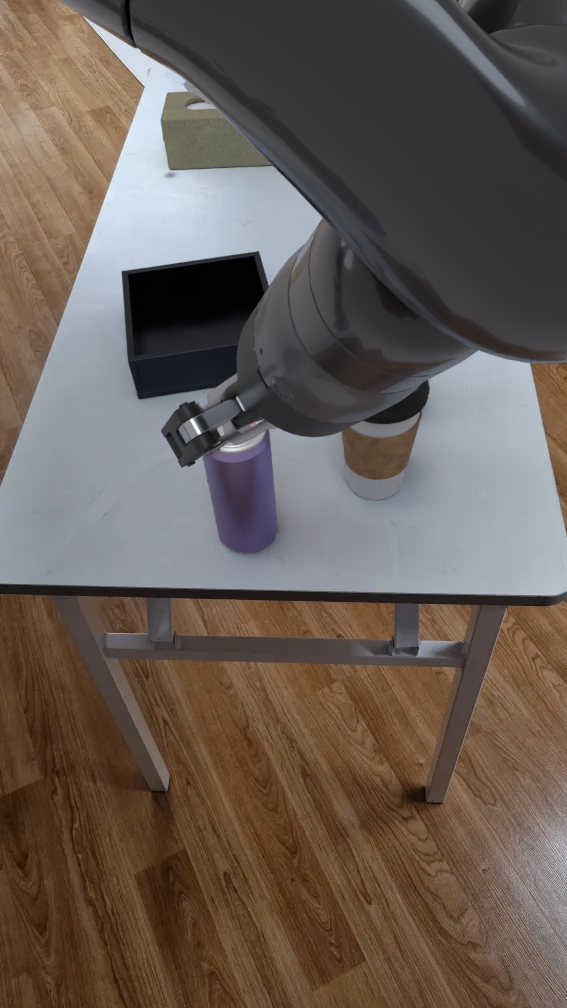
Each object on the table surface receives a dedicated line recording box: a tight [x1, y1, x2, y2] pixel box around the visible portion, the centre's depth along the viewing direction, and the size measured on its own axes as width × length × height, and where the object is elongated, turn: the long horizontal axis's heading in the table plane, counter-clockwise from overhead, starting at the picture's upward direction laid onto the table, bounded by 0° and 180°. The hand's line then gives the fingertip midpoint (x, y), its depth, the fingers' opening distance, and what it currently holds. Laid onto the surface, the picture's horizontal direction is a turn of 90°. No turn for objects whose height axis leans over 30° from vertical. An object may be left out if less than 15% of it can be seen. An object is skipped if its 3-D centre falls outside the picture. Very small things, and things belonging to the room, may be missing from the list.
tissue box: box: [160, 80, 272, 171], centre depth 114 cm, size 19×10×16 cm, turn 90°
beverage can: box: [202, 419, 279, 554], centre depth 66 cm, size 6×6×15 cm
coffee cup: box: [341, 379, 430, 501], centre depth 69 cm, size 8×8×15 cm
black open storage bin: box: [121, 250, 270, 400], centre depth 88 cm, size 18×18×6 cm
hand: (257, 410), depth 48 cm, fingers open, 8 cm apart
